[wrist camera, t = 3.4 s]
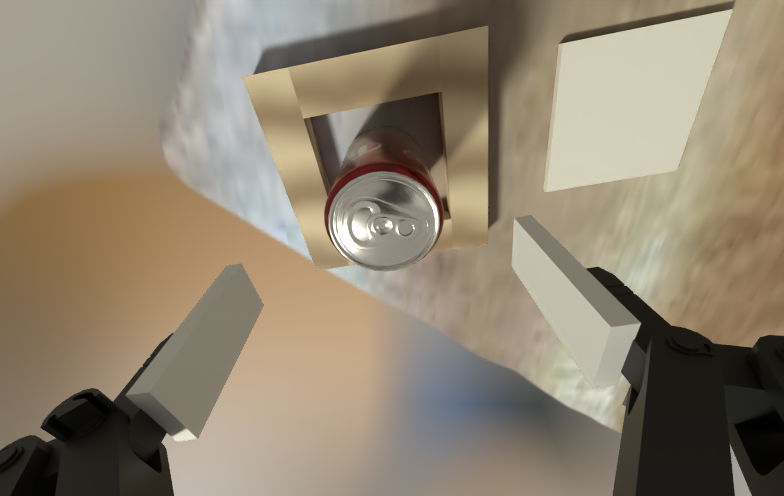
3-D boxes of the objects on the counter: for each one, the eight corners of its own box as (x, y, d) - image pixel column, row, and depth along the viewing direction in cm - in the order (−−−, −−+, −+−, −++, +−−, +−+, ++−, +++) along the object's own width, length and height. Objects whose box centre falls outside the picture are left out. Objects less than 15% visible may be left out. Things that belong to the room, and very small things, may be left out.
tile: (558, 43, 23) (562, 43, 22) (725, 10, 22) (733, 9, 21) (543, 189, 29) (546, 191, 28) (671, 168, 28) (676, 170, 28)
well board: (252, 76, 23) (241, 76, 22) (480, 28, 22) (488, 25, 20) (320, 259, 33) (316, 270, 31) (482, 234, 31) (487, 243, 30)
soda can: (341, 196, 29) (317, 267, 19) (350, 117, 25) (326, 153, 15) (413, 208, 30) (428, 283, 20) (432, 134, 26) (462, 178, 16)
